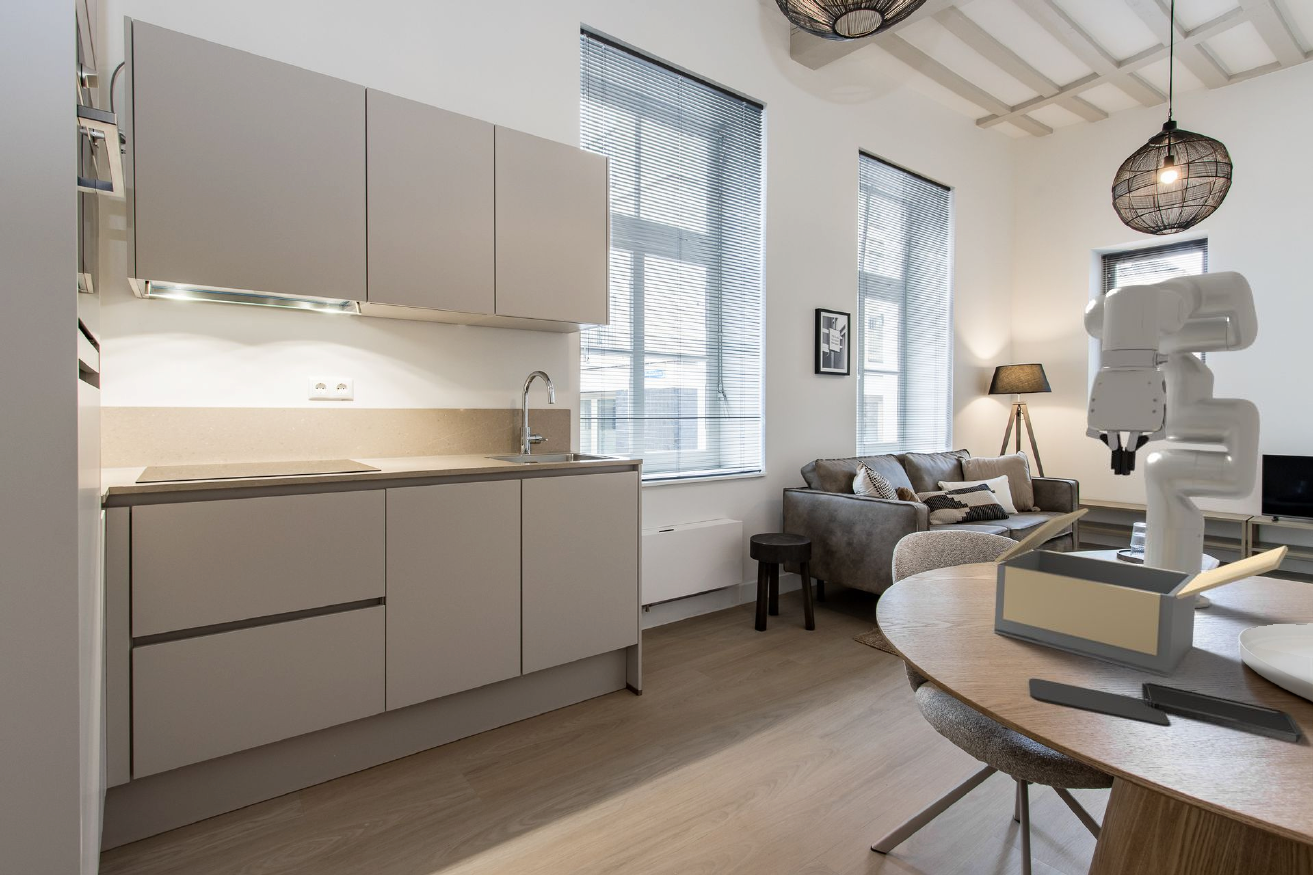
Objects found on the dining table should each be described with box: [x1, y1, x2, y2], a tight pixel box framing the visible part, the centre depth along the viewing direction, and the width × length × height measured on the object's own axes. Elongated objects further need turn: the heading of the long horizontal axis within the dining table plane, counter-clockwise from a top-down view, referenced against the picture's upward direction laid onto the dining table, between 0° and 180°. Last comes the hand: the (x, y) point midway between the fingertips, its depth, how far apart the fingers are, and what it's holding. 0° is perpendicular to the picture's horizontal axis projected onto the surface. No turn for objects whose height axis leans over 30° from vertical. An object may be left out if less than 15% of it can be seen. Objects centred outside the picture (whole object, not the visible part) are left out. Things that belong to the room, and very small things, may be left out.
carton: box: [993, 548, 1197, 679], centre depth 109 cm, size 21×24×12 cm
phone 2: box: [1141, 682, 1303, 743], centre depth 83 cm, size 8×1×15 cm
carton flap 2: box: [1176, 545, 1289, 599], centre depth 96 cm, size 20×12×1 cm
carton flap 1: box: [994, 507, 1090, 564], centre depth 115 cm, size 20×12×1 cm
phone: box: [1028, 678, 1171, 727], centre depth 85 cm, size 7×1×15 cm
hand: (1122, 474), depth 106 cm, fingers closed
